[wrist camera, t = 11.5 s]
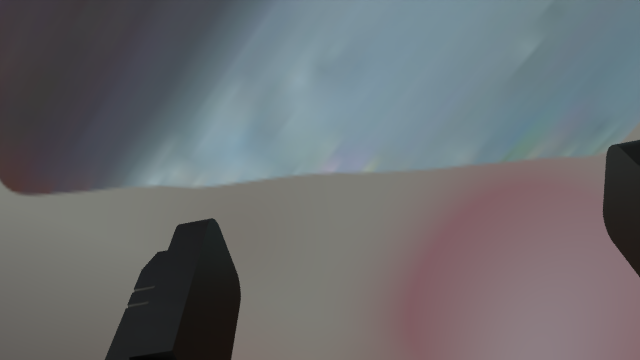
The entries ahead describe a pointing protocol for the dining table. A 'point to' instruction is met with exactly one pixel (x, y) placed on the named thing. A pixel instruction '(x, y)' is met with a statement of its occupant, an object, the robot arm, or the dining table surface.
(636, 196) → the robot arm
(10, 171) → the dining table surface
